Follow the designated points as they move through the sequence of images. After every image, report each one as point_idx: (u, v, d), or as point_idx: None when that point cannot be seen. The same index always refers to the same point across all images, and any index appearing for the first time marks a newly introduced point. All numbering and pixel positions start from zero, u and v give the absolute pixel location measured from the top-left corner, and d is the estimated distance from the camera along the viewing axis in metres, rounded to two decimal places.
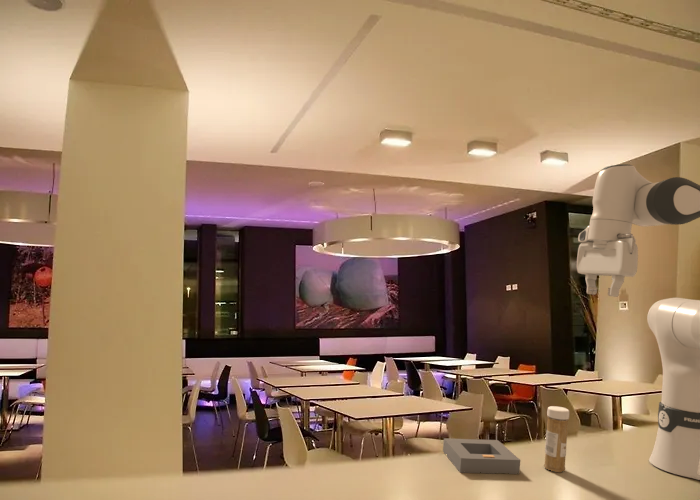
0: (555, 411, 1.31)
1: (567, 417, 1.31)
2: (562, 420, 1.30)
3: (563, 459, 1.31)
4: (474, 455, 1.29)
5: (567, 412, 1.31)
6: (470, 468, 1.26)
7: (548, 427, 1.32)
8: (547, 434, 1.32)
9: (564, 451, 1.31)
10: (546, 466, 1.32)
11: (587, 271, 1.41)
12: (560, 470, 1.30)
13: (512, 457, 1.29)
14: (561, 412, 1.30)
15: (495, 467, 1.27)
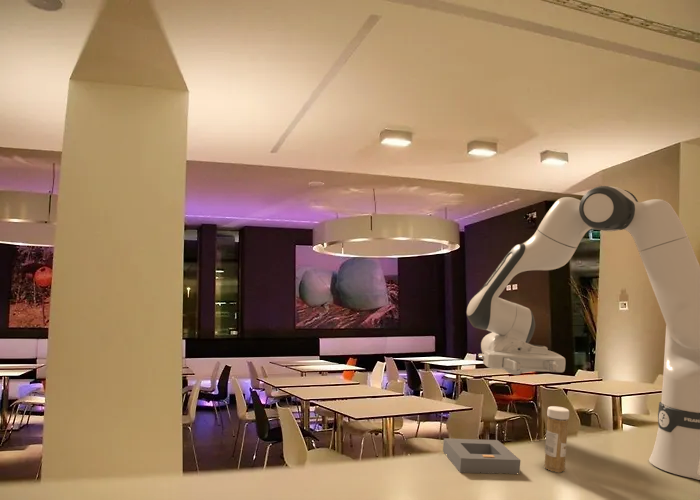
0: (555, 411, 1.31)
1: (567, 417, 1.31)
2: (562, 420, 1.30)
3: (563, 459, 1.31)
4: (474, 455, 1.29)
5: (567, 412, 1.31)
6: (470, 468, 1.26)
7: (548, 427, 1.32)
8: (547, 434, 1.32)
9: (564, 451, 1.31)
10: (546, 466, 1.32)
11: None
12: (560, 470, 1.30)
13: (512, 457, 1.29)
14: (561, 412, 1.30)
15: (495, 467, 1.27)
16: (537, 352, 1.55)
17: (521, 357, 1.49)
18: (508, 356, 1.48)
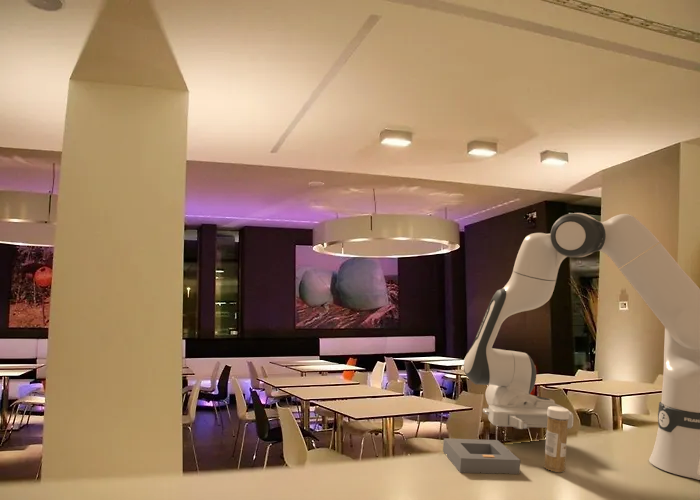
0: (555, 411, 1.31)
1: (567, 417, 1.31)
2: (562, 420, 1.30)
3: (563, 459, 1.31)
4: (474, 455, 1.29)
5: (567, 412, 1.31)
6: (470, 468, 1.26)
7: (548, 427, 1.32)
8: (547, 434, 1.32)
9: (564, 451, 1.31)
10: (546, 466, 1.32)
11: None
12: (560, 470, 1.30)
13: (512, 457, 1.29)
14: (561, 412, 1.30)
15: (495, 467, 1.27)
16: (544, 406, 1.50)
17: (527, 414, 1.44)
18: (514, 413, 1.43)
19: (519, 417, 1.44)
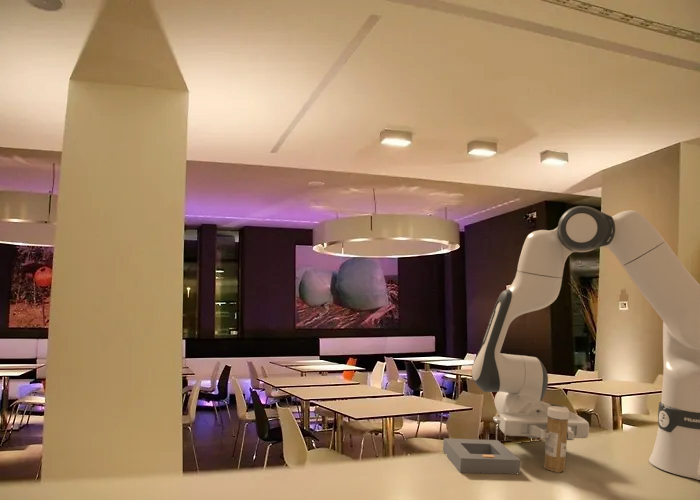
0: (555, 411, 1.31)
1: (567, 417, 1.31)
2: (562, 420, 1.30)
3: (563, 459, 1.31)
4: (474, 455, 1.29)
5: (567, 412, 1.31)
6: (470, 468, 1.26)
7: (548, 427, 1.32)
8: None
9: (564, 451, 1.31)
10: (546, 466, 1.32)
11: None
12: (560, 470, 1.30)
13: (512, 457, 1.29)
14: (561, 412, 1.30)
15: (495, 467, 1.27)
16: None
17: (541, 423, 1.36)
18: (527, 422, 1.36)
19: None
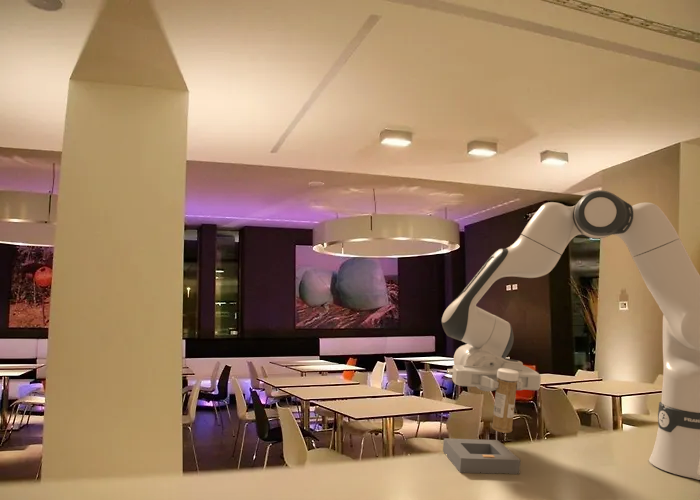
0: (504, 373, 1.31)
1: (516, 379, 1.31)
2: (510, 382, 1.31)
3: (510, 420, 1.32)
4: (474, 455, 1.29)
5: (516, 374, 1.31)
6: (470, 468, 1.26)
7: None
8: (496, 395, 1.33)
9: (511, 412, 1.32)
10: (493, 426, 1.33)
11: None
12: (506, 430, 1.31)
13: (512, 457, 1.29)
14: (510, 374, 1.31)
15: (495, 467, 1.27)
16: (511, 367, 1.43)
17: (492, 374, 1.37)
18: (478, 373, 1.36)
19: None
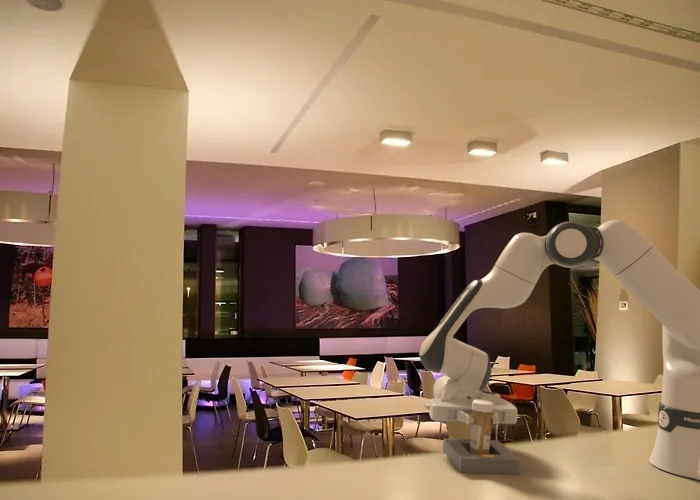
0: (478, 404, 1.32)
1: (490, 410, 1.32)
2: (485, 413, 1.31)
3: (486, 452, 1.32)
4: (474, 455, 1.29)
5: (490, 405, 1.32)
6: (470, 468, 1.26)
7: None
8: (471, 427, 1.33)
9: (487, 444, 1.32)
10: None
11: None
12: None
13: (512, 457, 1.29)
14: (484, 405, 1.31)
15: (495, 467, 1.27)
16: None
17: (468, 408, 1.37)
18: (454, 408, 1.37)
19: None
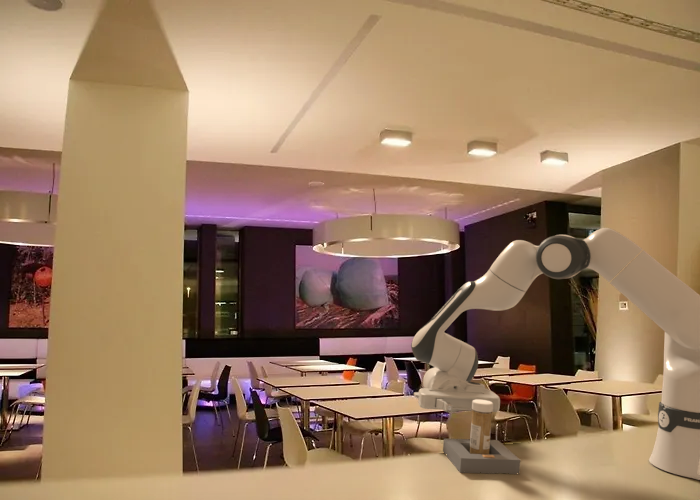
0: (478, 404, 1.32)
1: (490, 410, 1.32)
2: (485, 413, 1.32)
3: (486, 452, 1.32)
4: (474, 455, 1.29)
5: (490, 405, 1.32)
6: (470, 468, 1.26)
7: (472, 420, 1.33)
8: (471, 427, 1.33)
9: (487, 444, 1.32)
10: None
11: None
12: None
13: (512, 457, 1.29)
14: (484, 405, 1.31)
15: (495, 467, 1.27)
16: (473, 390, 1.54)
17: (454, 397, 1.47)
18: (441, 396, 1.47)
19: (446, 400, 1.48)
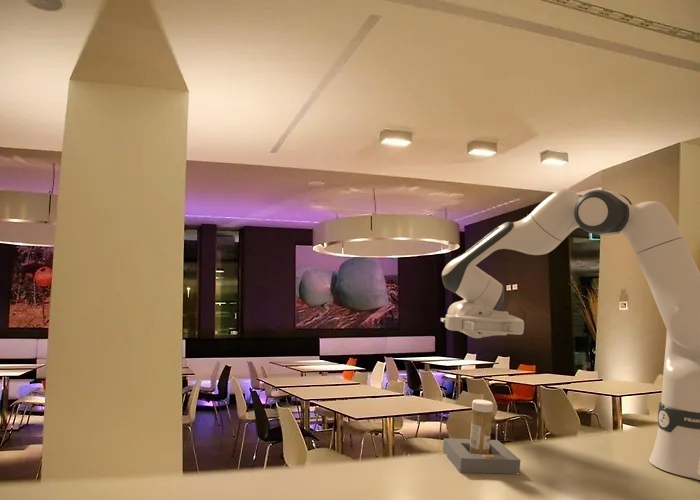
0: (478, 404, 1.32)
1: (490, 410, 1.32)
2: (485, 413, 1.32)
3: (486, 452, 1.32)
4: (474, 455, 1.29)
5: (490, 405, 1.32)
6: (470, 468, 1.26)
7: (472, 420, 1.33)
8: (471, 427, 1.33)
9: (487, 444, 1.32)
10: None
11: (503, 333, 1.55)
12: None
13: (512, 457, 1.29)
14: (484, 405, 1.31)
15: (495, 467, 1.27)
16: (498, 316, 1.60)
17: (480, 319, 1.54)
18: (467, 318, 1.53)
19: (473, 323, 1.54)
